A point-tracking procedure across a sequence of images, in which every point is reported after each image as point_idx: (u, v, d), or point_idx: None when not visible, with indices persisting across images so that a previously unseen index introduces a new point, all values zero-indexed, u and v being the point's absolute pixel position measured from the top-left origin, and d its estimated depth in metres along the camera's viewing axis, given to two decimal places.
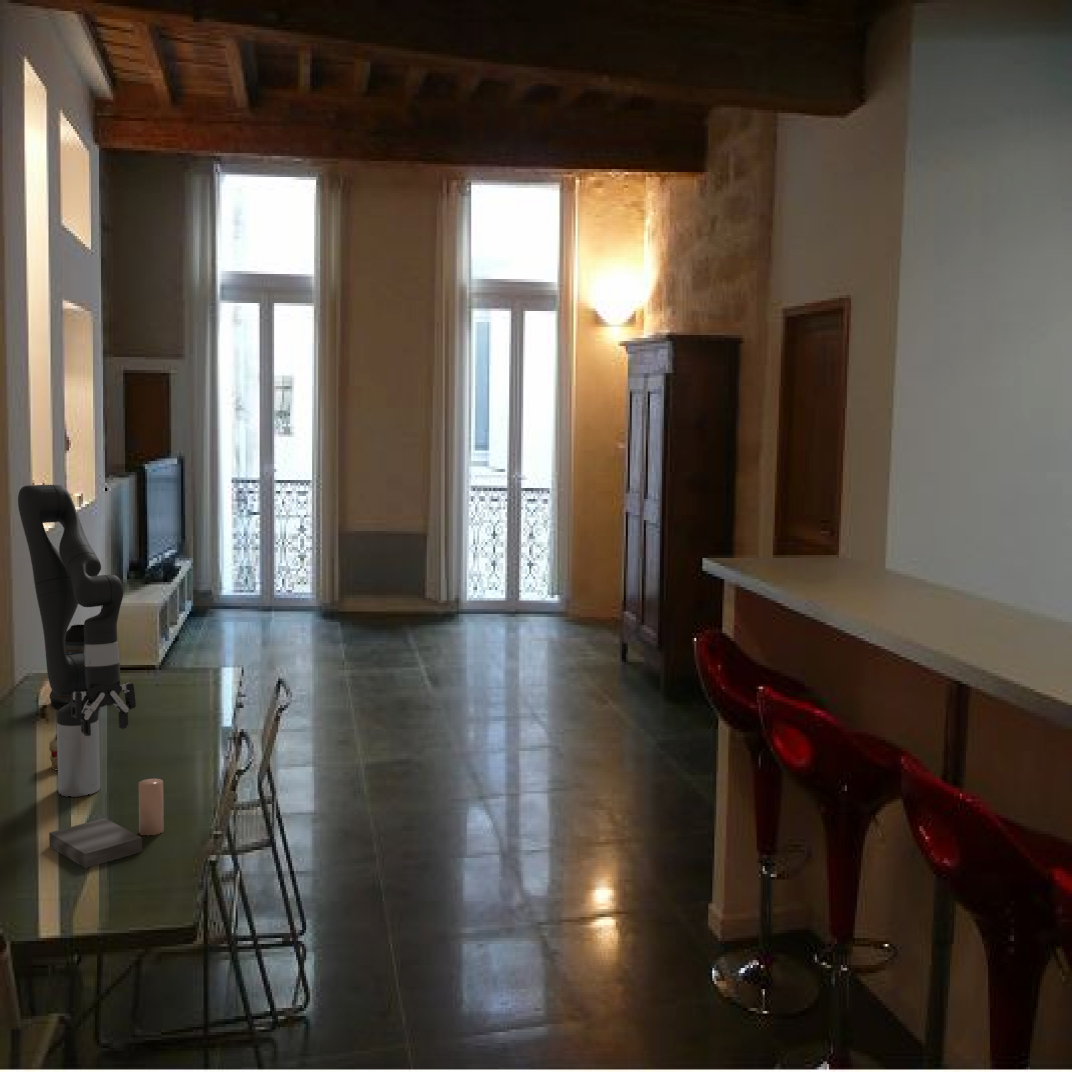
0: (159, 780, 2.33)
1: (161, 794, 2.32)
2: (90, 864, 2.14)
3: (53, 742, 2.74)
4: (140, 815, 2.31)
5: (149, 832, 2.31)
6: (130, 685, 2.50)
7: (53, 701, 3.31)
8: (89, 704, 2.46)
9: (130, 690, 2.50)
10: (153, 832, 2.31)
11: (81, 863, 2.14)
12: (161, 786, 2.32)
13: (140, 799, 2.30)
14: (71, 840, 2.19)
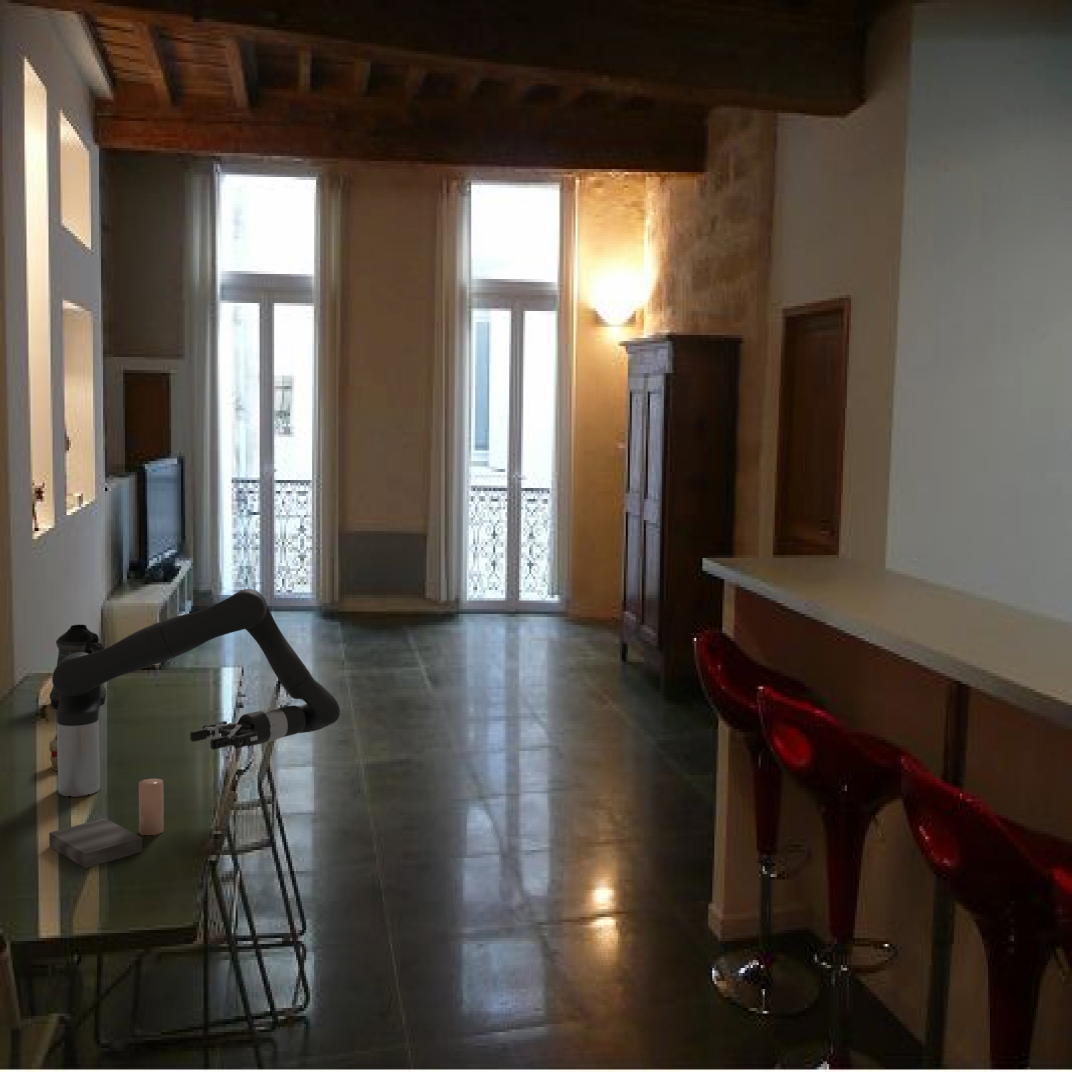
0: (159, 780, 2.33)
1: (161, 794, 2.32)
2: (90, 864, 2.14)
3: (53, 742, 2.74)
4: (140, 815, 2.31)
5: (149, 832, 2.31)
6: None
7: (53, 701, 3.31)
8: None
9: None
10: (153, 832, 2.31)
11: (81, 863, 2.14)
12: (161, 786, 2.32)
13: (140, 799, 2.30)
14: (71, 840, 2.19)
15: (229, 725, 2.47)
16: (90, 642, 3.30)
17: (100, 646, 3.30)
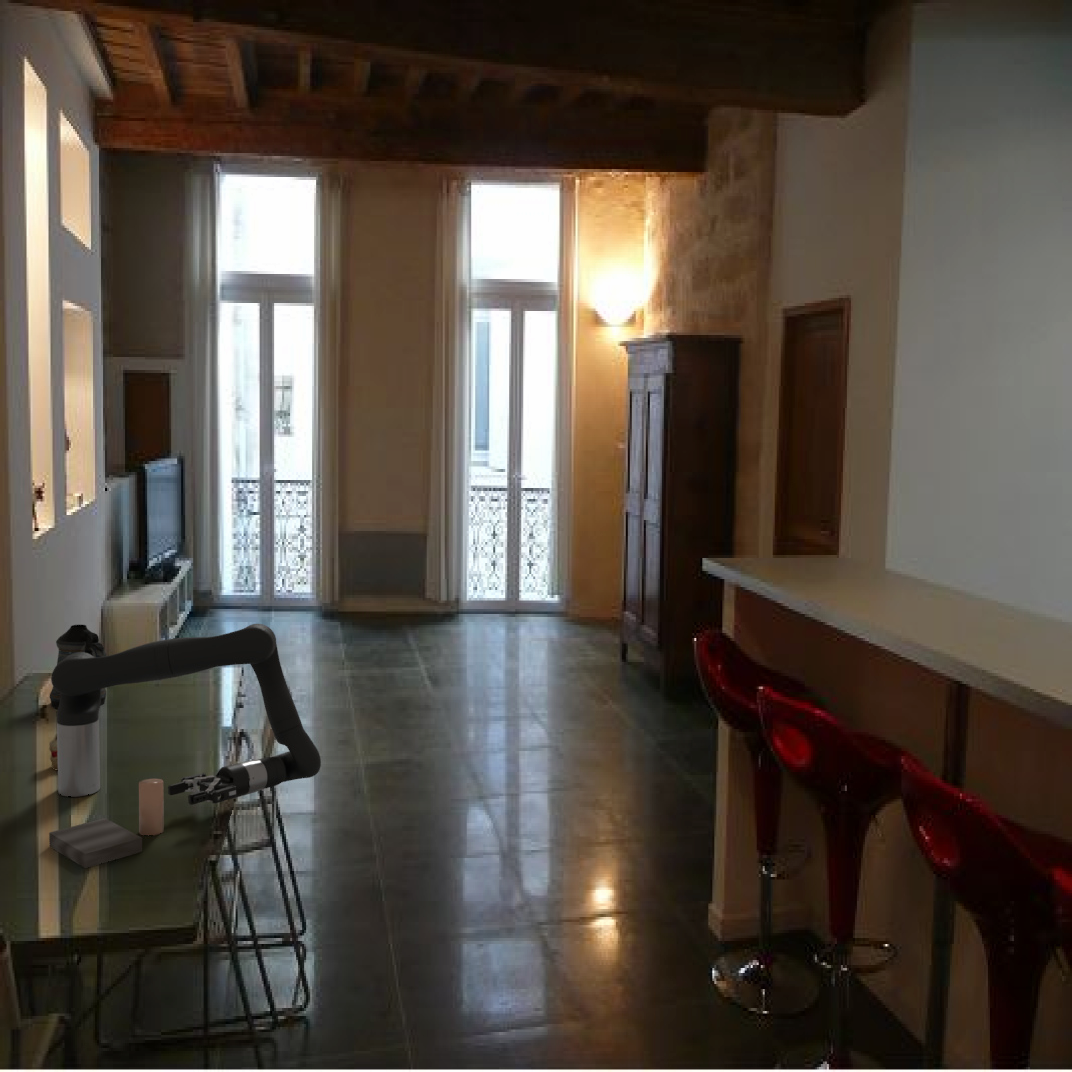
0: (159, 780, 2.33)
1: (161, 794, 2.32)
2: (90, 864, 2.14)
3: (53, 742, 2.74)
4: (140, 815, 2.31)
5: (149, 832, 2.31)
6: None
7: (53, 701, 3.31)
8: None
9: None
10: (153, 832, 2.31)
11: (81, 863, 2.14)
12: (161, 786, 2.32)
13: (140, 799, 2.30)
14: (71, 840, 2.19)
15: (208, 778, 2.44)
16: (90, 642, 3.30)
17: (100, 646, 3.30)
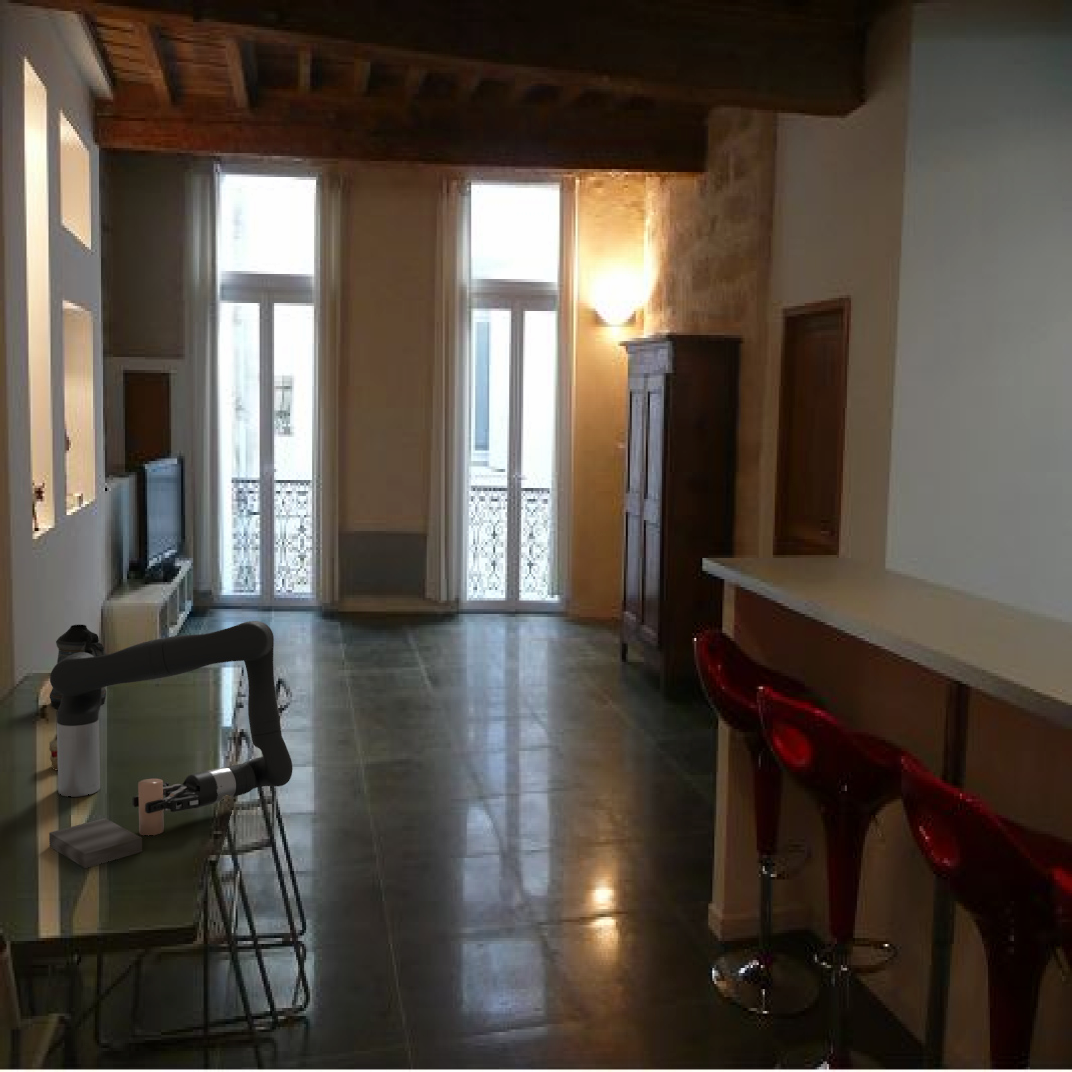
0: (159, 780, 2.33)
1: (161, 794, 2.32)
2: (90, 864, 2.14)
3: (53, 742, 2.74)
4: (140, 815, 2.31)
5: (149, 832, 2.31)
6: None
7: (53, 701, 3.31)
8: None
9: None
10: (153, 832, 2.31)
11: (81, 863, 2.14)
12: (161, 786, 2.32)
13: (140, 799, 2.30)
14: (71, 840, 2.19)
15: (175, 787, 2.38)
16: (90, 642, 3.30)
17: (100, 646, 3.30)
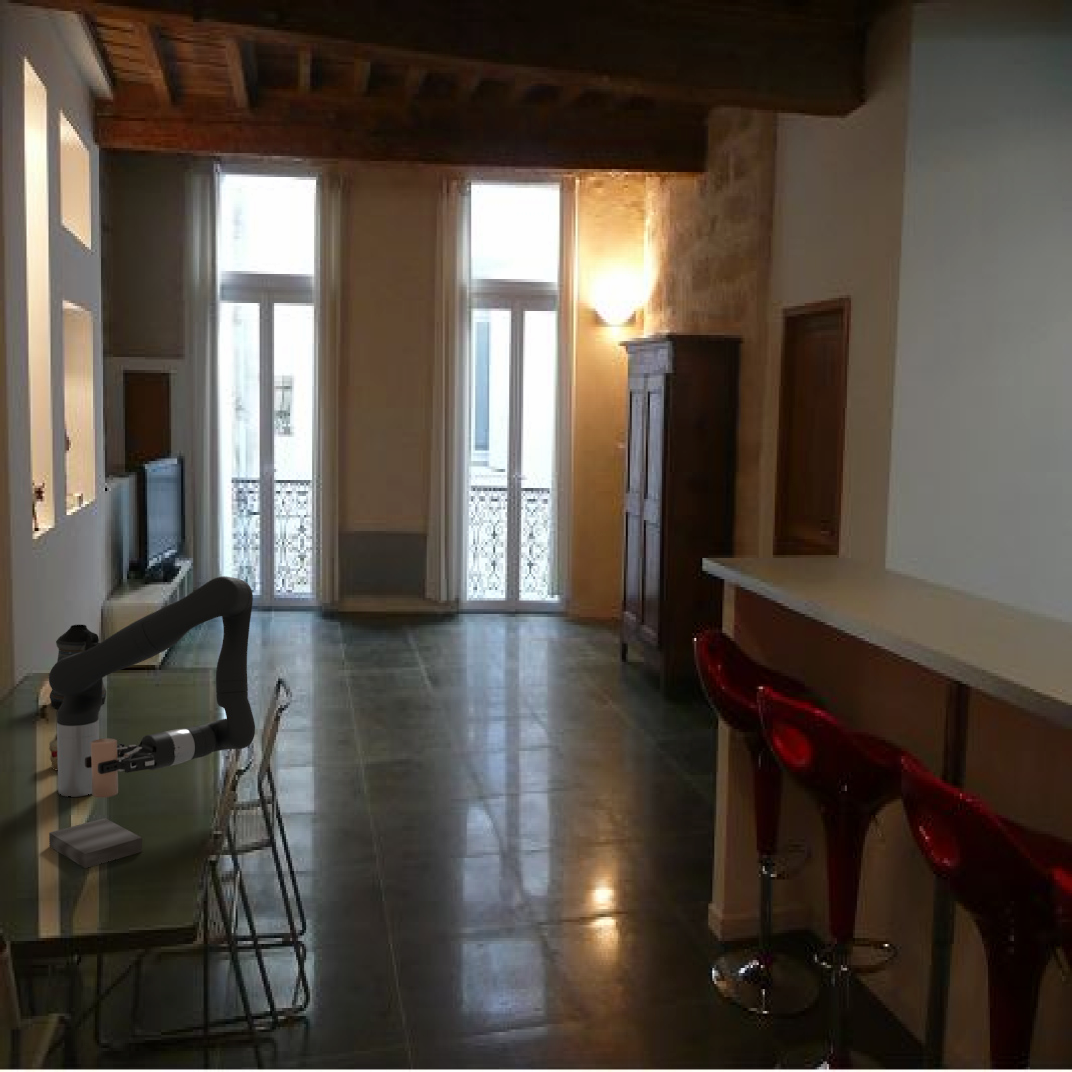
0: (113, 740, 2.24)
1: (115, 754, 2.22)
2: (90, 864, 2.14)
3: (53, 742, 2.74)
4: (93, 775, 2.21)
5: (102, 794, 2.21)
6: None
7: (53, 701, 3.31)
8: None
9: None
10: (106, 794, 2.21)
11: (81, 863, 2.14)
12: (115, 746, 2.22)
13: (92, 759, 2.21)
14: (71, 840, 2.19)
15: (130, 747, 2.28)
16: (90, 642, 3.30)
17: None
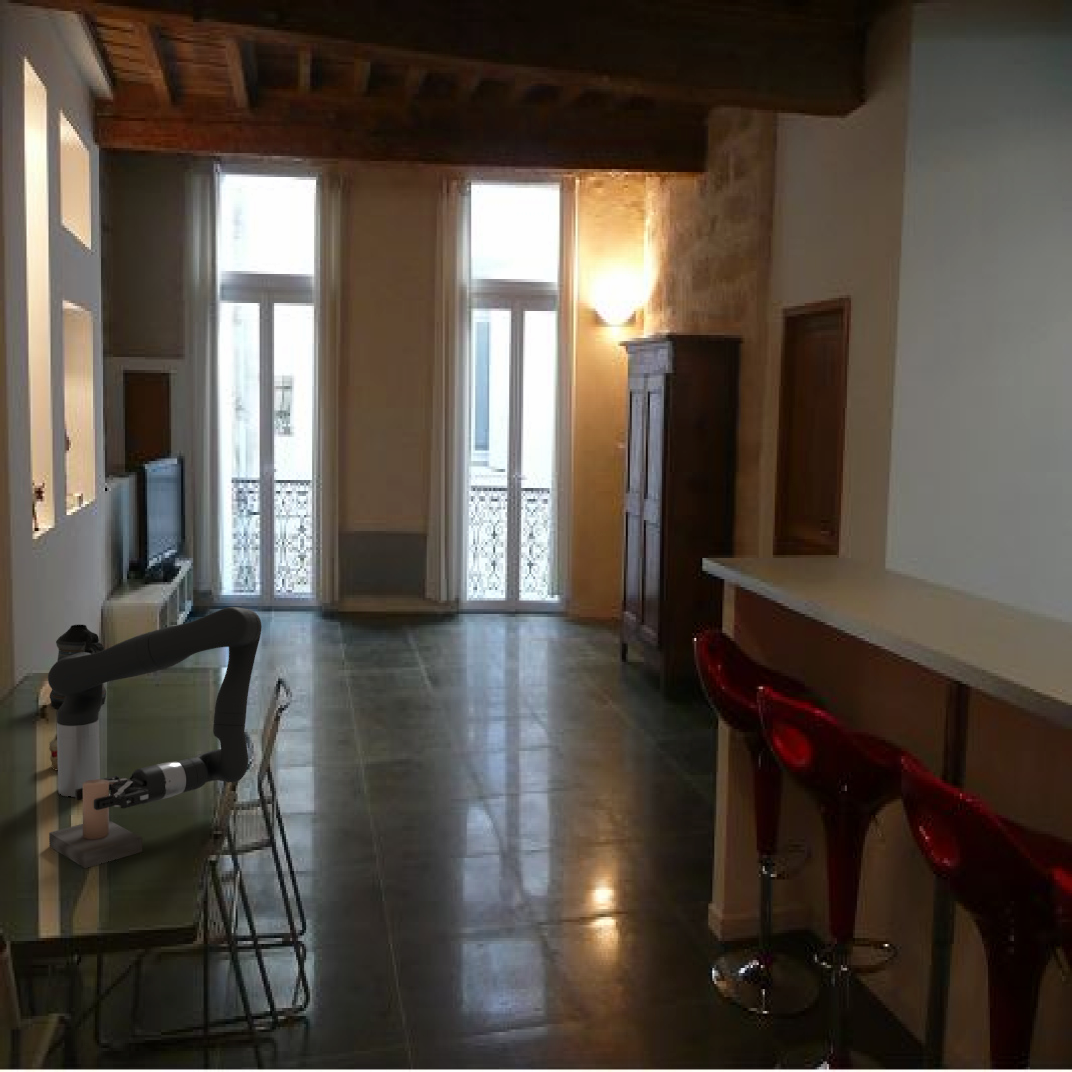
0: (105, 781, 2.23)
1: (106, 795, 2.21)
2: (90, 864, 2.14)
3: (53, 742, 2.74)
4: (83, 817, 2.20)
5: (93, 835, 2.20)
6: None
7: (53, 701, 3.31)
8: None
9: None
10: (97, 835, 2.20)
11: (81, 863, 2.14)
12: (106, 787, 2.21)
13: (84, 800, 2.20)
14: (71, 840, 2.19)
15: (120, 781, 2.27)
16: (90, 642, 3.30)
17: (100, 646, 3.30)
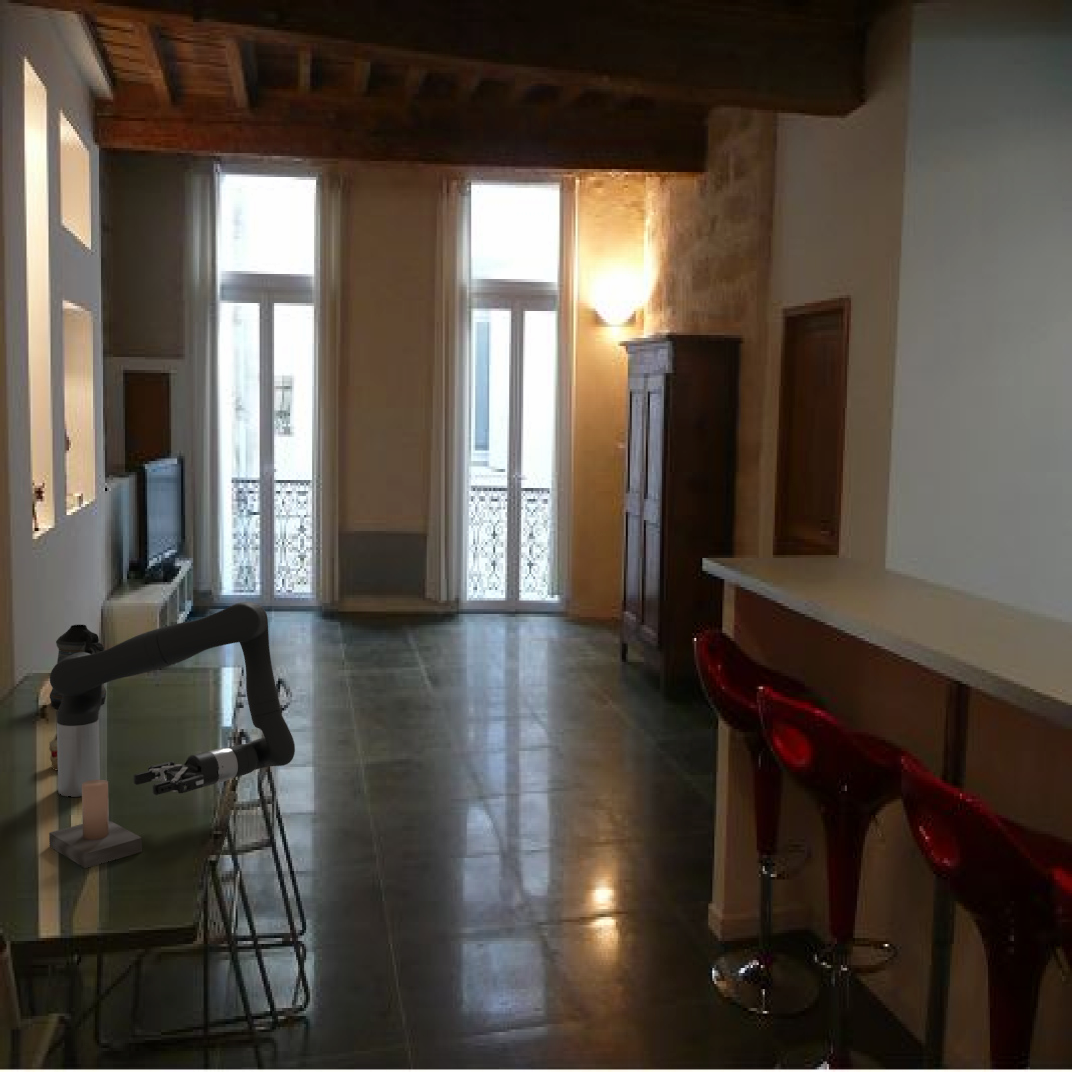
0: (104, 781, 2.23)
1: (106, 796, 2.21)
2: (90, 864, 2.14)
3: (53, 742, 2.74)
4: (83, 817, 2.20)
5: (93, 836, 2.20)
6: None
7: (53, 701, 3.31)
8: None
9: None
10: (97, 836, 2.20)
11: (81, 863, 2.14)
12: (106, 787, 2.21)
13: (83, 801, 2.20)
14: (71, 840, 2.19)
15: (175, 767, 2.37)
16: (90, 642, 3.30)
17: (100, 646, 3.30)
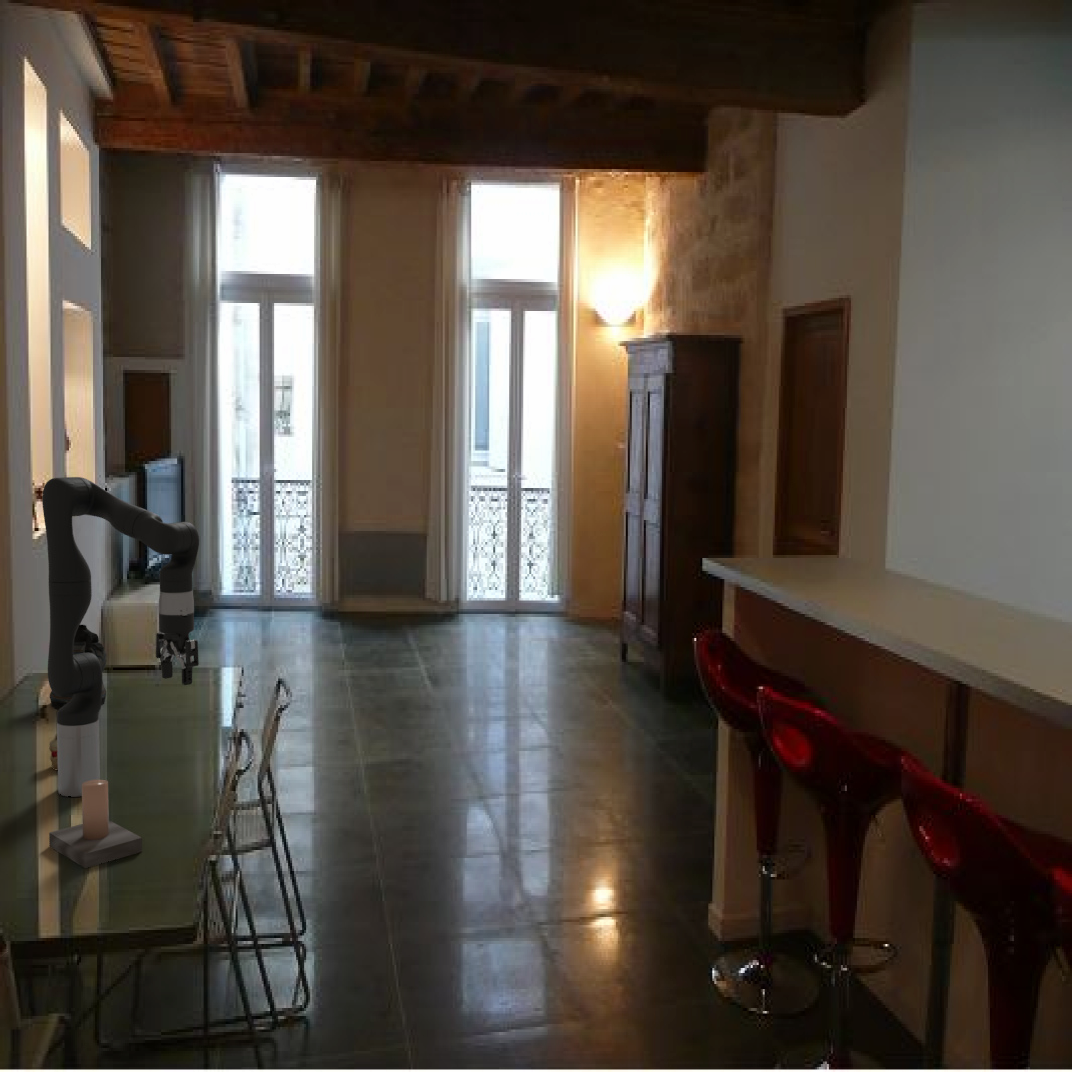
0: (104, 781, 2.23)
1: (105, 796, 2.21)
2: (90, 864, 2.14)
3: (53, 742, 2.74)
4: (83, 817, 2.20)
5: (93, 836, 2.20)
6: None
7: (53, 701, 3.31)
8: None
9: None
10: (97, 836, 2.20)
11: (81, 863, 2.14)
12: (105, 787, 2.21)
13: (83, 801, 2.20)
14: (71, 840, 2.19)
15: (167, 646, 2.42)
16: (90, 642, 3.30)
17: (100, 646, 3.30)
